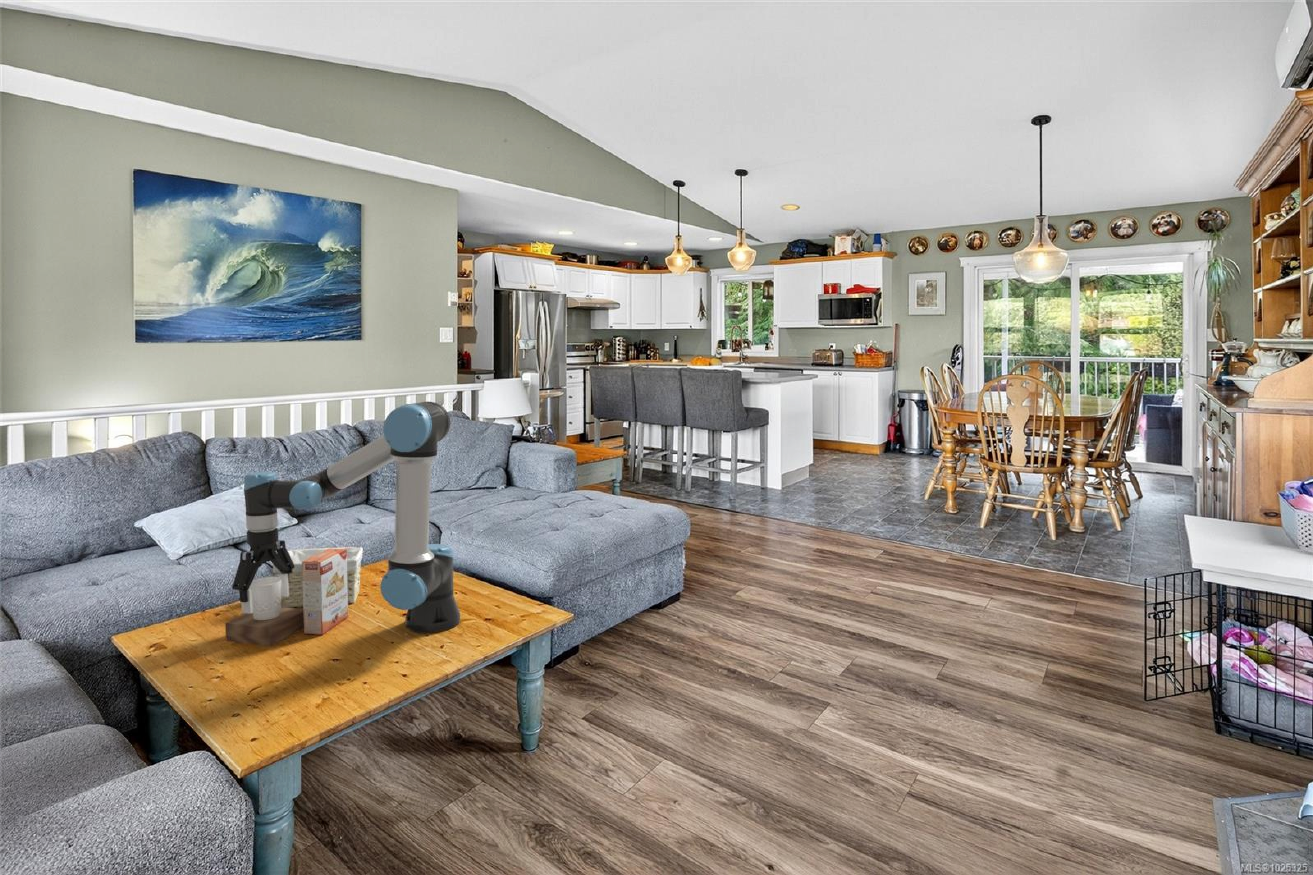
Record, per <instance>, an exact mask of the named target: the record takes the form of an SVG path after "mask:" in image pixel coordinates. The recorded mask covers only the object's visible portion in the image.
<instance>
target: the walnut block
mask: <svg viewBox="0 0 1313 875" xmlns="http://www.w3.org/2000/svg"><path fill="white" fill-rule="evenodd" d="M224 626H225V627H224V628H225V641H226V642H233V643H240V644H241V643H242V644H249V645H258V646H259V645H260V646H265V647H266V646H268V647H272V646H274V645H276V644H278V643H280V642H282V641H284V640H285V639H287V638H289V637H290V636H293V635H294V634H296V633H298V632H300V631H301V630H304V614H303V608H297V607H296V608H295V607H289V608H286V607H281V614H280V616H278V617H276V618H273V619H269V620H255V619H254V618H253V614H252V613H251V614H248V613H243V614H241V615H240V616H237V617H235V618H233V619H231V620H228V621H226V622H225V623H224Z"/></svg>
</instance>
